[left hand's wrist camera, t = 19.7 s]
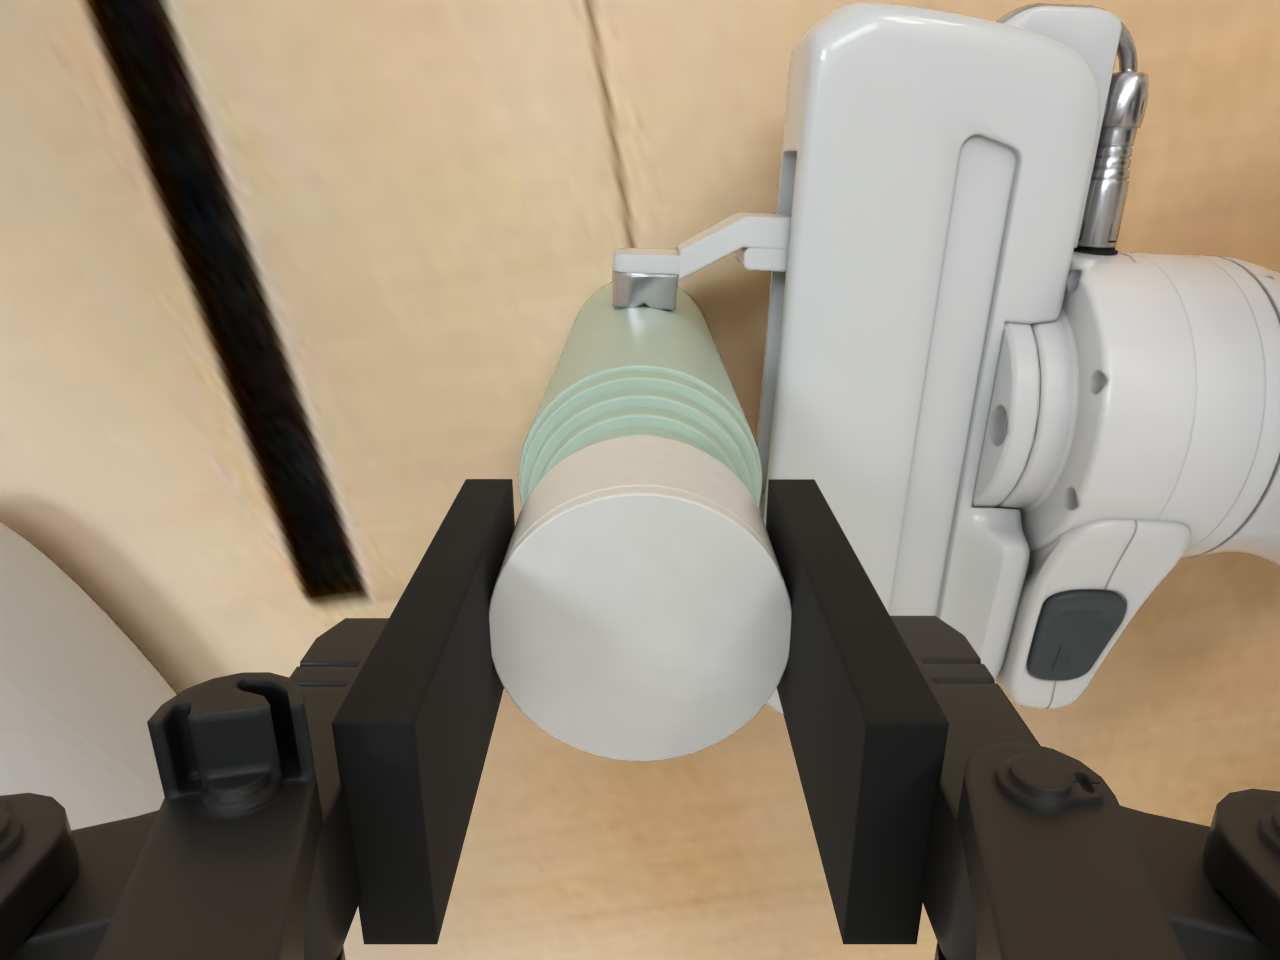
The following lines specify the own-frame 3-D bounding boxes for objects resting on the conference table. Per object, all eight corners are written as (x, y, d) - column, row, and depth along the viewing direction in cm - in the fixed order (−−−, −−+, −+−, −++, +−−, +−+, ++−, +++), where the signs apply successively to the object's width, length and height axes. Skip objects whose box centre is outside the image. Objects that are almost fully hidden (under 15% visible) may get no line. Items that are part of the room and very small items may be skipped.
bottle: (691, 425, 32) (762, 780, 14) (560, 398, 32) (447, 724, 13) (724, 292, 30) (854, 490, 12) (585, 262, 30) (496, 418, 11)
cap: (504, 436, 14) (475, 495, 11) (772, 432, 14) (801, 491, 11) (520, 667, 15) (498, 763, 13) (763, 665, 15) (786, 760, 13)
